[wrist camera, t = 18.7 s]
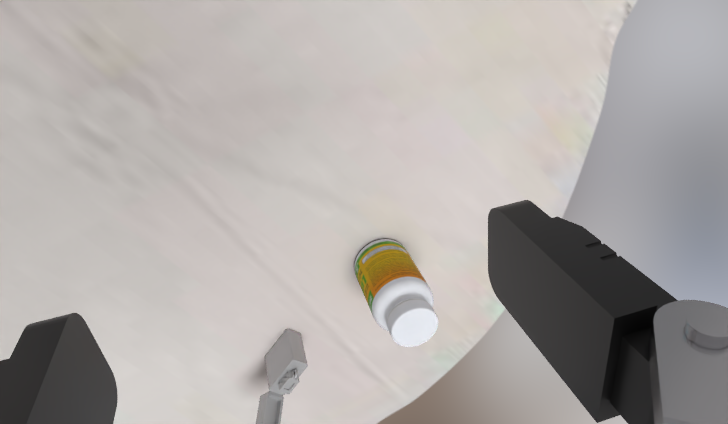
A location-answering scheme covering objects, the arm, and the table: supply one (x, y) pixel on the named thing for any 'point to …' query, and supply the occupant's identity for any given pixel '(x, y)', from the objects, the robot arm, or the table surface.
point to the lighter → (281, 375)
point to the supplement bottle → (396, 292)
